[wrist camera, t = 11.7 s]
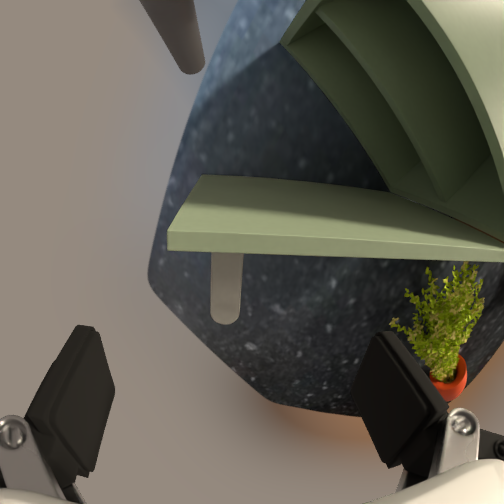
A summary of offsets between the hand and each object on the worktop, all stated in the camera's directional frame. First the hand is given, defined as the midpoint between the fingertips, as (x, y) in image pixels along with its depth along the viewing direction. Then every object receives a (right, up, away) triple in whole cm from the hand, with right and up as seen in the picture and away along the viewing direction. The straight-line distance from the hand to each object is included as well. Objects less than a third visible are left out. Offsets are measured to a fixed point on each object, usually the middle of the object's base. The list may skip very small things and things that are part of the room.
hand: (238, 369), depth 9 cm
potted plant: (+41, -14, +42) cm, 60 cm away
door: (+7, +9, +29) cm, 31 cm away
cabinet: (+19, +27, +24) cm, 41 cm away
